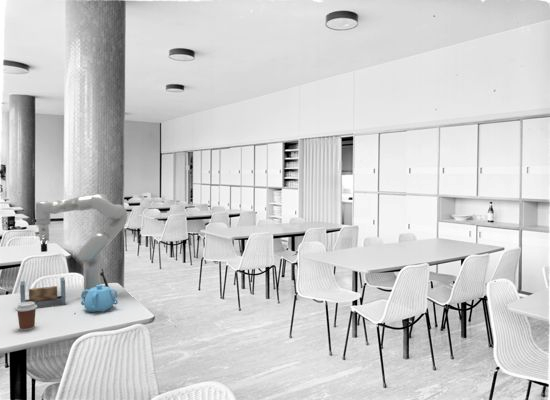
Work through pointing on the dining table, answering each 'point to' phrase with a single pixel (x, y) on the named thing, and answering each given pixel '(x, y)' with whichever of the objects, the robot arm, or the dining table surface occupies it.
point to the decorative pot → (99, 299)
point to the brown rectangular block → (42, 294)
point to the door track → (46, 303)
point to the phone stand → (104, 278)
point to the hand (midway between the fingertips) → (44, 250)
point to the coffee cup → (26, 315)
